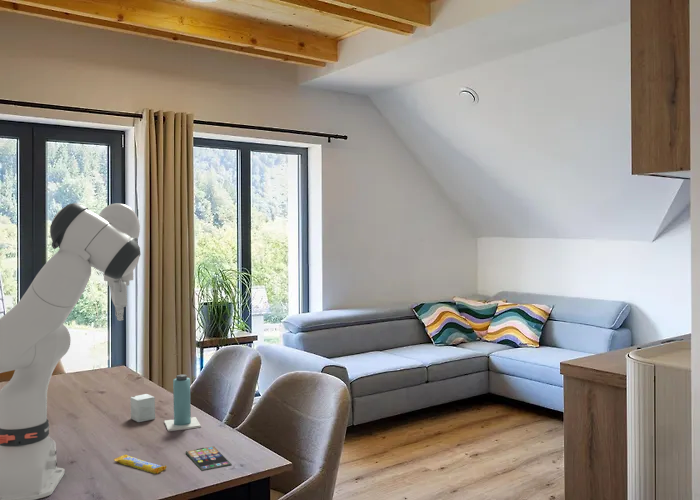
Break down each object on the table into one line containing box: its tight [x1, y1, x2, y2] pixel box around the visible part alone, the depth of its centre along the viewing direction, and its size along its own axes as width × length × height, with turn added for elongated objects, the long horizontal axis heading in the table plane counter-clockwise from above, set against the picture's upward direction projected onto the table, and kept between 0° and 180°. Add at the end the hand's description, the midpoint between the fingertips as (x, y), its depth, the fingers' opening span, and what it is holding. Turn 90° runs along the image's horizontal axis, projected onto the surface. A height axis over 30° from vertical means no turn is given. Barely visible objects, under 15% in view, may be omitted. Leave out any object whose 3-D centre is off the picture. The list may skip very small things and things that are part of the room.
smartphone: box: [185, 445, 232, 472], centre depth 174 cm, size 8×15×1 cm, turn 30°
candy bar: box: [113, 454, 167, 475], centre depth 169 cm, size 17×4×2 cm, turn 57°
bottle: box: [172, 374, 192, 426], centre depth 204 cm, size 5×5×15 cm
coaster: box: [163, 416, 202, 432], centre depth 204 cm, size 10×10×1 cm
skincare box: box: [129, 393, 156, 423], centre depth 211 cm, size 6×6×7 cm
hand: (119, 318), depth 204 cm, fingers open, 8 cm apart
